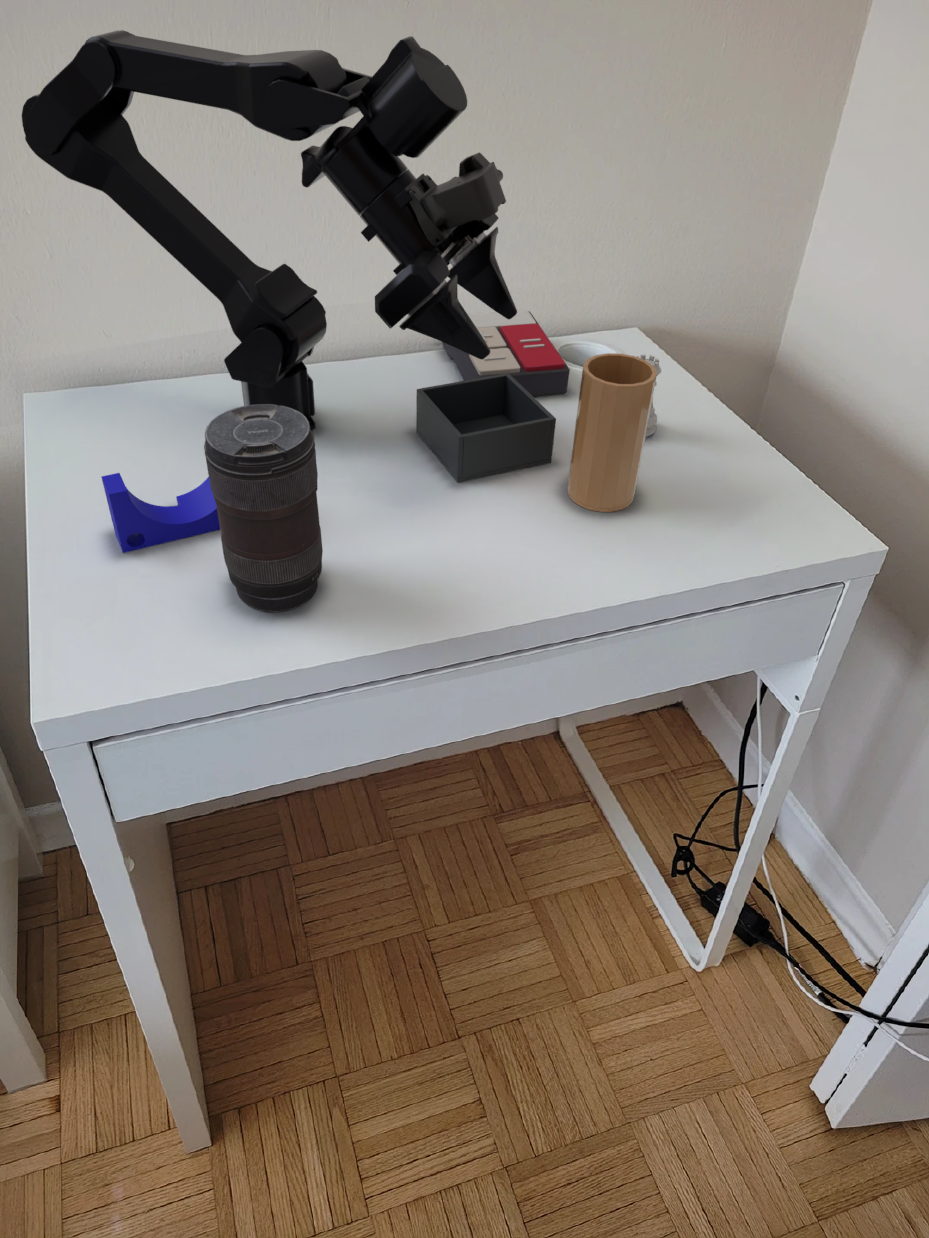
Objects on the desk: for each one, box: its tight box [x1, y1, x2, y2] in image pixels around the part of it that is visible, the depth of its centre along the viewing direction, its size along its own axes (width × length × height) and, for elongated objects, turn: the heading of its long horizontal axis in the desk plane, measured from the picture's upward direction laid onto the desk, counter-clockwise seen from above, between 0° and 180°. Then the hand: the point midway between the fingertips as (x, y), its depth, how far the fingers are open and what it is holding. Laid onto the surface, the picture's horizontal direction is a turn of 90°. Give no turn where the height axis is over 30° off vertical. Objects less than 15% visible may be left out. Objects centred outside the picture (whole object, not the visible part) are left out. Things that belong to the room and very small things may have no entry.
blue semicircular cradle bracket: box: [101, 472, 220, 554], centre depth 84 cm, size 12×4×6 cm, turn 117°
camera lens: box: [203, 404, 324, 613], centre depth 74 cm, size 8×8×15 cm
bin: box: [415, 373, 557, 483], centre depth 96 cm, size 10×10×5 cm
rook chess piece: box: [635, 354, 662, 439], centre depth 99 cm, size 4×4×8 cm
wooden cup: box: [567, 352, 658, 513], centre depth 88 cm, size 6×6×13 cm
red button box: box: [442, 309, 570, 397], centre depth 111 cm, size 11×4×15 cm
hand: (500, 335), depth 86 cm, fingers open, 9 cm apart
